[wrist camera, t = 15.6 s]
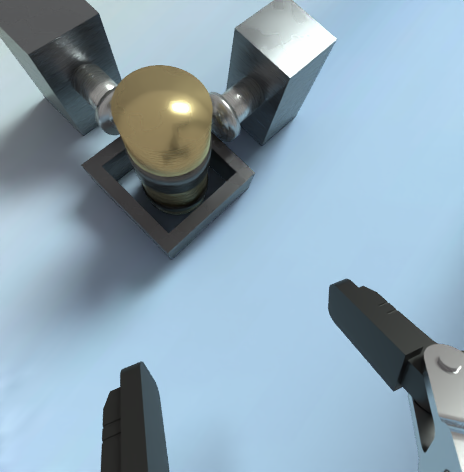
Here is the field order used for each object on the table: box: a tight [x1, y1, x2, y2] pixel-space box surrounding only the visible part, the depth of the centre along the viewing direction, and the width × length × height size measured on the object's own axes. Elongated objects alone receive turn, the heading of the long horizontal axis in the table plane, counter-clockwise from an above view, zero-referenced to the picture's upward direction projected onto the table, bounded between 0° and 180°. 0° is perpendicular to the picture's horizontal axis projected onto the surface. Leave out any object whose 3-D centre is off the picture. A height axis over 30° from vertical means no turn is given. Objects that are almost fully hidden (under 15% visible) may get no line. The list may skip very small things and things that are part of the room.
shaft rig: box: [0, 0, 337, 260], centre depth 21 cm, size 18×18×8 cm
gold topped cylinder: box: [111, 65, 213, 215], centre depth 19 cm, size 5×5×10 cm
